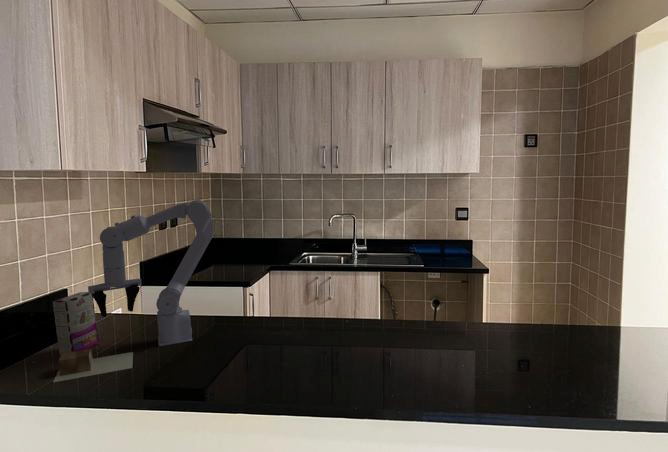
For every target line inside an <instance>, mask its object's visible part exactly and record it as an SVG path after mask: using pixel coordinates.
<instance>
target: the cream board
mask: <svg viewBox="0 0 668 452" xmlns="http://www.w3.org/2000/svg"><path fill="white" fill-rule="evenodd" d="M92 359H93V364H92V368H91V370H90V371H85V372H79V373H74V374H68V375H62V376H60V370H59V369H58V371H57V372H56V375H55V377H54V379H53V381H52V382H53V383H58V382H64V381H68V380H69V381H70V380H74V379H80V378H86V377H90V376H96V375H101V374H107V373H113V372H117V371H124V370H130V369H133V360H134V352H131V351H130V352H126V353H120V354H113V355H107V356H101V357H96V358H95V357H94V358H92Z"/></svg>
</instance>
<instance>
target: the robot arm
mask: <svg viewBox="0 0 668 452" xmlns="http://www.w3.org/2000/svg"><path fill="white" fill-rule="evenodd" d="M187 217H188V218H189V220H190V221H191V223H192V224H193V227H194V229H195V232H196V234H195V237H194V238H193V240H192V242H191V243H190V245H189V247H188V249H187V251H186V253H185V254H184V256H183V258H182V260H181V262H180V264H179V265H178V267H177V269H176V271H175V272H174V274H173V276H172V278H171V280H170V282H168V285H167V286H166V287H165V288H164V289H162V290H161V292H160V293H159V295H158V298H157V300H156V305H155V306H156V308H157V309H156V310H158V311H157V312H156V313H157V314H156V315H157V325H158V326H157V328H158V337H157V341H158V342H157V343H158V347H163V346H169V345H175V344H181V343H186V342H187V343H188V342H192V341H193V336H192V334H193V329H192V324H191V316H190V311H189V309H183V308H182V307H181V306H180V301H181V300H180V299H181V296H182V294H183V292H184V290H185V288H186V286H187V285H188V282H189V280H190V279H191V277H192V275H193V273H194V271H195V270H196V268H197V266H198V264H199V262H200V260H201V258H202V257H203V255H204V253H205V252H206V249H207V248H208V246H209V244H210V242H211V240H212V238H213V237H214V227H213V219H212V217H213V216H212V212H211V210H210V209H209V206H208V204H207V203H206V202H205V201H203V200H201V199H200V200H199V199H195V200H192V201H191V202H188V201H187V202H185V203H184V202H183V203H179V204H176V205H173V206H171V207H169V208H166V209H164V210H161V211H159V212H156V213H154V214H151V215H149V216H147V217H145V216H143V215H141V214H140V215H136V214H135V215H131V216H130V219H127V220H124V221H121V222H118V221H117V222H115V223H114V226H108V227H106V228H104V229H102V231H101V232H100V235H99V241H100V243H101V244H102V247H101V248H102V263H103V264H102V267H103V278H104V279H103V283H99V284H98V283H97V284H93V285H88V286H87V290H88V291H87V292H88V293H90V294H91V295H92V296H93V300H94V302H96V304H97V307H98V309H99V312H100V315H101V317H103V318H106V317H108V316H107V315H108V314H107V294H106V293H105V292H107V291H114V290H118V289H119V290H120V289H124V291H125V296H126V305H127V306H126V307H127V311H128V312H134V307H135V303H136V299H137V296H138V294H139V292H140V286H141V287H142V279H141V278H134V279H127V277H126V267H125V266H126V263H125V262H126V261H125V251H124V243H123V242H129V241H132V240H134V239H136V238H139V237H141V236H144V235H146V234H147V235H148V233H149V231H150V228H151V227H154V226H156V225H160V224H163V223H165V222H169V221H171V220H173V219H186V218H187Z"/></svg>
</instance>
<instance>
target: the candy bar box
mask: <svg viewBox="0 0 668 452" xmlns="http://www.w3.org/2000/svg"><path fill="white" fill-rule="evenodd" d="M94 303H95V301H94V298H93V296H92V295H91V294H90V293H88V291H79V292H77V293H74V294H71V295H68V296H65V297H61V298H59V299H56V300H53V301H52V310H53V316H54V324H55V333H56V339H57V344H58V345H57V346H58V352H59V353H58V354H59V356H61V354H62V353H68V352H74V351H80V350H86V349H92V347H95V346H97V345H98V344H99V343H100V342H99V334H98V327H97V318H96V311H95V309H96V308H95V304H94Z"/></svg>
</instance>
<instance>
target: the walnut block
mask: <svg viewBox="0 0 668 452" xmlns="http://www.w3.org/2000/svg"><path fill="white" fill-rule="evenodd" d="M59 356H60V355H59ZM93 359H94V358H93V351H92V348H89V349H86V350H80V351H74V352H68V353H62V354H61V356H60V357H59V359H58V367H59V368H58V371H59V370H60V376H62V375H68V374H74V373H79V372H85V371H90V370H91V368H92V364H93Z"/></svg>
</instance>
